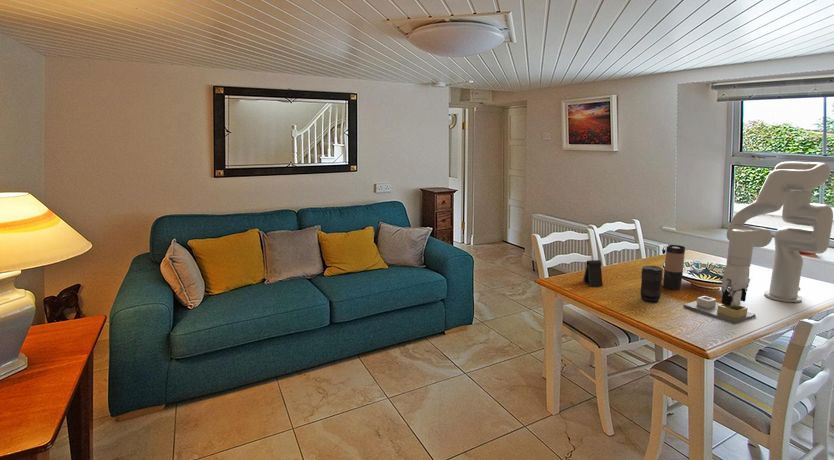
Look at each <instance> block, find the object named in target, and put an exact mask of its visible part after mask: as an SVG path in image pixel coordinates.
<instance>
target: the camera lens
mask: <svg viewBox="0 0 834 460" xmlns="http://www.w3.org/2000/svg"><path fill="white" fill-rule="evenodd" d="M640 276H641V284H640V297H641V300H642V302H645V303H648V304H649V303H650V304H656V303H659V301H660V298H661V294H662V287H663V284H662V281H663V277H664V270H663V268H662V267H660V266H657V265H643V266H642V269H641V275H640Z"/></svg>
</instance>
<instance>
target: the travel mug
mask: <svg viewBox="0 0 834 460" xmlns="http://www.w3.org/2000/svg"><path fill="white" fill-rule="evenodd" d="M685 253H686V247H685V246H683V245H678V244H669V245H668V246H666V251H665V260H664V269H663V284H662V287H663V288H664V289H666V290H675V291H678V290H681V287H682V281H683V273H684V264H685Z"/></svg>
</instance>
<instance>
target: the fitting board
mask: <svg viewBox="0 0 834 460" xmlns="http://www.w3.org/2000/svg"><path fill="white" fill-rule="evenodd" d="M696 298H697V299H696V300H695V301H691V302H688V303H687V302H686V303H683V308H686V309H688V310H691V311H694V312H696V313H699V314H703V315H706V316H709V317H712V318H714V319H718V320H721V321H722V322H723V321H724V322H725V323H726V322H727V323H730V324H732V325H736V324H740V323H743V322H746V321H748V320H752V319H754V318H756V317H757V316H756V315H757V314H756V313H752V312H749V311H748V307H747V306H745V305H741V304H740V309H739V310H734V309H731V308H728V307H726V305H724V304H722V303H721V302H717V298H714V297H711V296H710V297H709V296H707V295H703V296H699V297H696ZM745 320H746V321H745Z"/></svg>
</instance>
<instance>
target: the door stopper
mask: <svg viewBox="0 0 834 460" xmlns="http://www.w3.org/2000/svg"><path fill="white" fill-rule="evenodd" d="M583 281H584V282H585V285H587V284H588V285H589V286H588V285H587V286H588V287H590V288H595V287H596V288H597V287H599V286H603V284H604V283H603V275H602V260H600V259H595V260H594V259H593V260H586V266H585V271H584V275H583V279H582V282H583ZM584 282H583V283H584ZM599 288H600V287H599Z"/></svg>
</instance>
